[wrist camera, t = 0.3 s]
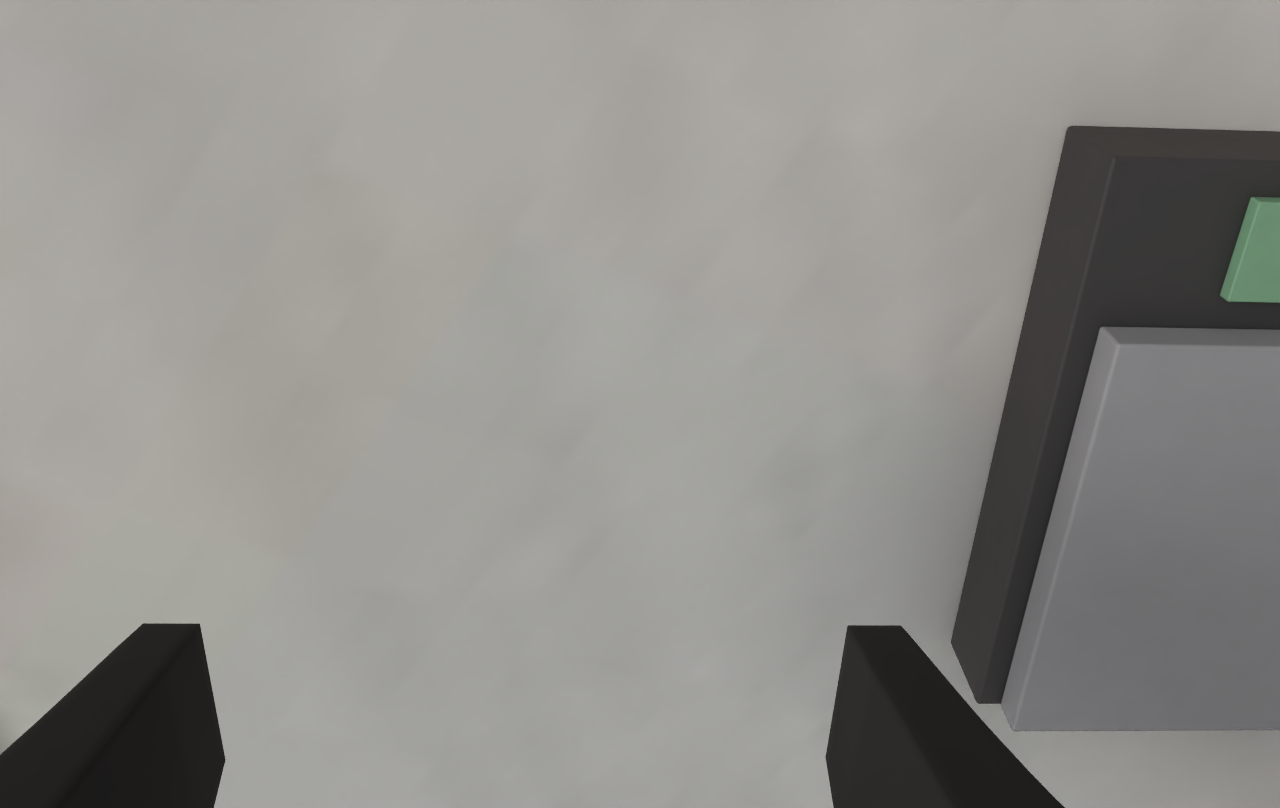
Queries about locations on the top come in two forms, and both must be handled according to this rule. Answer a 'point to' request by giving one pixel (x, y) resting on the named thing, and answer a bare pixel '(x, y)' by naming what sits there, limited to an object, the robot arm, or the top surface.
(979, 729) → the robot arm
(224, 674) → the top surface
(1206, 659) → the scale
